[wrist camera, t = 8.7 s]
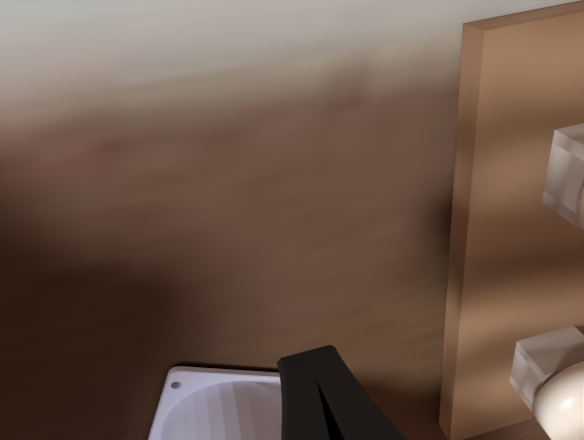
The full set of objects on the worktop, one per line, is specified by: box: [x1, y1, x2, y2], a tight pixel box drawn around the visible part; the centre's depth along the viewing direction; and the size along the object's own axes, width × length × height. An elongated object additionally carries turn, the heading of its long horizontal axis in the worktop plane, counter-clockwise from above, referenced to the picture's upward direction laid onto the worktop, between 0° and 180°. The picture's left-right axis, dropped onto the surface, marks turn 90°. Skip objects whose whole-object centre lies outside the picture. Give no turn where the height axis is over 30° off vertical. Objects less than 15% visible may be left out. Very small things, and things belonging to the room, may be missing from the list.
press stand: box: [439, 0, 584, 440], centre depth 25 cm, size 26×11×4 cm, turn 8°
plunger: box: [532, 361, 584, 440], centre depth 27 cm, size 5×5×4 cm
